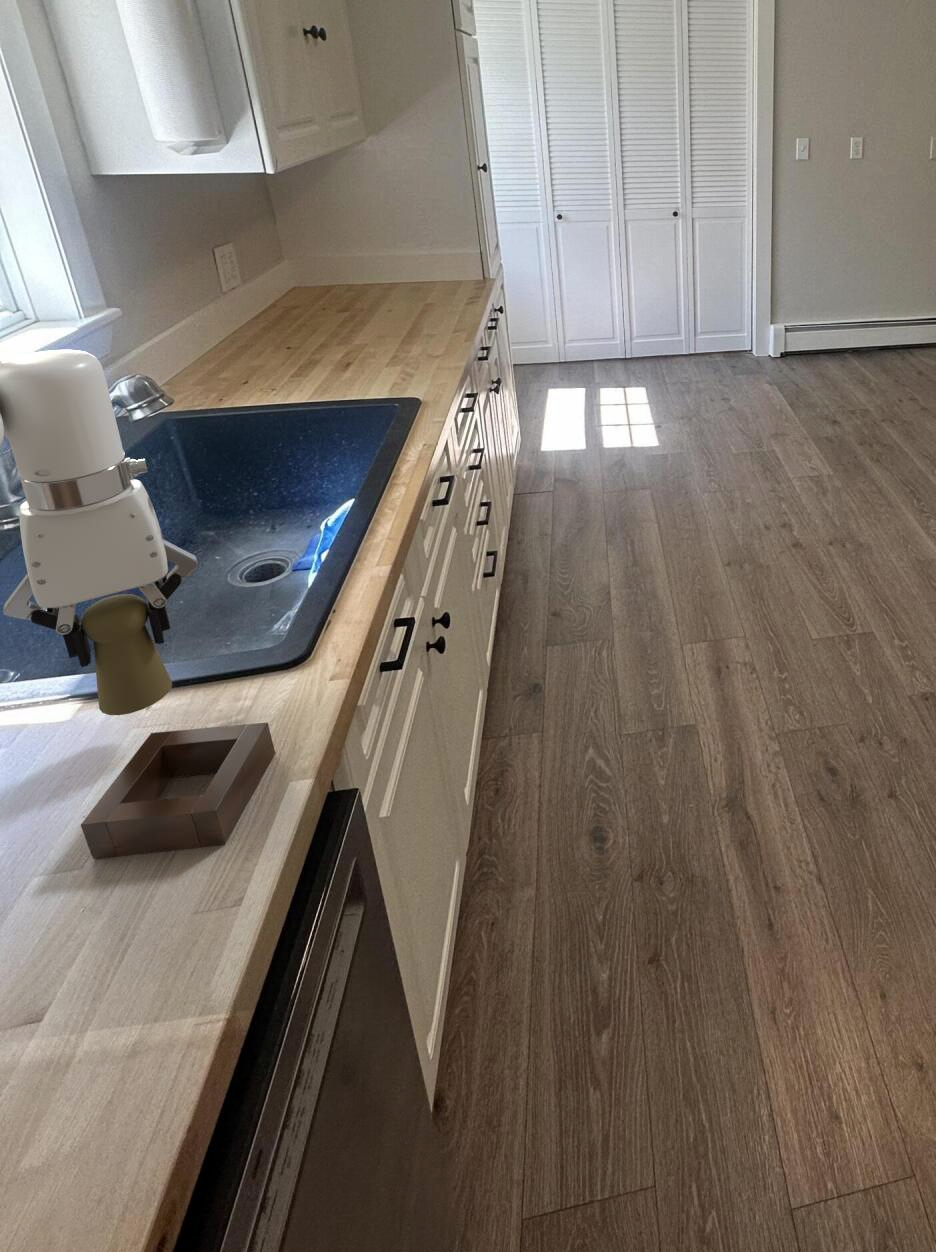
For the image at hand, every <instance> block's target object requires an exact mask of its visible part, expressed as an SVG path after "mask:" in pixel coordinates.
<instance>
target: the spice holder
mask: <svg viewBox="0 0 936 1252" xmlns="http://www.w3.org/2000/svg"><path fill="white" fill-rule="evenodd" d="M275 755H276V749H275V746H274V741H273V737H272V734H271V730H270V726H269V722H257V723H249V724H248V723H245V724H244V723H243V724H233V725H224V726H223V725H222V726H211V727H202V728H190V729H179V730H167V731H159V732H150V734H149V735H148V736H147V737H146V738H145V740H144V742H143V743H142V745H141V746H140V747H139V748H138V750H137V751H136V752H135V753H134V755H133V756H132V757H131V759H130V760H129V761H128V762H127V764H126V765H125V766H124V768H123V769H122V770H121V772H120V773H119V774H118V775H117V776H116V779H114V781H113V782H112V783H111V784H110V786H109V787H108V788H107V790H106V791H105V792H104V794H103V795H102V796H101V798H100V799H99V800H98V801H97V803H96V804H95V805H94V806H93V808H92V809H91V810H90V812H89V813H88V815H87V816H86V817H85V818H84V820H83V821H82V822H81V823H80V828H81V831H82V833H83V837H84V838H85V841H86V844H87V847H88V849H89V852H90V855H91V857H92V859H93V860H97V859H98V860H99V859H106V858H115V857H124V856H125V857H126V856H133V855H142V854H143V855H144V854H152V853H160V852H162V853H163V852H169V851H170V852H171V851H180V850H189V849H197V848H202V847H204V848H205V847H213V846H214V847H215V846H222V845H226V844H227V841H228V840H229V839H230V837H231V834H232V833H233V832H234V829H235V828H236V825H237V824H238V822H239V820H240V818H241V816H242V815H243V813H244V811H245V810H246V807H247V806H248V803H249V802H250V801H251V798H252V797H253V796H254V793H255V791H256V789H257V787H258V785H259V784H260V782H261V781H262V778H263V777H264V775H265V773H266V771H267V769H268V768H269V766H270V764H271V762H272V760H273V759H274V757H275ZM211 774H214V776H213V778H212V779H211V781H210V782H209V784H208V786H207V787H206V789H205V790H204V793H203V794H202V795H201V794H200V795H190V796H181V797H171V798H161V799H159V797H160V795H162V792H164V790H165V789H166V787H167V785H168V784H169V782H170V781H171V780H172V778H180V777H191V776H192V777H193V776H203V775H211Z"/></svg>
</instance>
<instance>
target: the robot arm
mask: <svg viewBox="0 0 936 1252" xmlns="http://www.w3.org/2000/svg"><path fill="white" fill-rule="evenodd" d="M117 423H118V422H117V419H116V415H115V411H114V407H113V403H112V398H111V394H110V390H109V386H108V382H107V379H106V375H105V371H104V368H103V365H102V363H101V362H100V360H99V359H98V358H97V357H96V356H94V355H93V354H91V353H89V352H87V351H82V350H75V349H54V350H43V351H37V352H29V353H25V354H21V355H17V356H14V357H11V358H6V359H5V358H4V359H0V447H1V446H2V443H3V441H4V437H5V438H7V440H8V442H9V445H10V449H11V452H12V456H13V459H14V463H15V465H16V469H17V473H18V475H19V479H20V482H21V486H22V489H23V492H24V496H25V499H26V501H24V502H23V503H21V504H20V505H19V516H18V517H19V528H20V529H19V531H20V538H21V546H22V550H23V556H24V562H25V568H26V571H27V573H26V574H25V576H24V578H23V579H22V580H21V581H20V582H19V584H18V585H17V587H16V588H15V589H14V590H13V592H12V593H11V594H10V595H9V597H8V598H7V600H6V601H5V602H4V606H3V609H2V613H3V615H4V616H6V617H10V618H14V619H19V620H23V621H31V622H32V623H33V624H35V625H37V626H38V625H39V626H42V627H44V628H47V629H51V630H54V631H55V632H56V633H57V634H58V635H62V637H63V641H64V644H65V648H66V651H67V654H68V657H69V658H70V659H73V658H76V657H77V658H78V661H79V665H80V667H81V668H85V667H88V666H89V665H90V664H91V663H92V648H91V645H90V641H89V638H88V637H87V636H86V635H85V634H84V632H83V630H82V627H81V621H82V617H81V618H80V616H79V615H78V614H76V610H77V605H78V604H79V603H83V602H87V601H91V600H95V599H100V598H104V597H106V596H107V597H108V596H112V595H116V594H118V593H122V592H126V591H130V590H134V589H136V588H137V589H138V591H140V592H141V594H142V595H143V596H144V598H146V600H145V603H146V604H147V612H148V621H149V625H150V628H151V633H152V636H153V641H154V645H162V644H165V636H164V632H165V631H169V630H171V624H170V620H169V619H170V618H169V614H168V611H167V608H166V605H167V603H168V600H169V599H170V597H171V596H172V595H173V594H174V593H175V592H176V591H177V589H178V588H179V587H180V586H181V584H182V582H183V581H184V580H185V579H186V578H187V577H188V576H190V574H191V573H192V572H193V571H194V570H195V569H196V568H197V567H198V566H199V560H198V557H197V556H196V555H195V554H193V553H190V552H189V551H187V550H185V549H183V548H182V547H179V546H177V545H175V544H174V543H171V542H170V541H168V540H166V539H165V538H164V535H163V532H162V530H161V526H160V524H159V520H158V517H157V513H156V511H155V508H154V505H153V502H152V500H151V498H150V496H149V494H148V491H147V490H146V488H145V486H144V485H143V482H141V480H139V479H135V477H138V476H140V475H142V474H146V473H149V471H148V470H149V469H148V466H147V465H148V464H147V461H146V459H145V458H143V459H138V460H136V459H131V458H130V457H126V454H125V451H124V448H123V442H122V438H121V436H120V435H121V434H120V431H119V427H118V424H117ZM168 562H170V563H172V564H174V565H175V566H173V568H172V569H171V570H169V565H168ZM33 597H34V598H33ZM31 598H33V599H34V600H35V602H33V601H30V600H31Z"/></svg>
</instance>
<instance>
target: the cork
mask: <svg viewBox="0 0 936 1252" xmlns="http://www.w3.org/2000/svg"><path fill="white" fill-rule="evenodd" d="M81 618H82V621H81V627H82V630H83V632H84V634H85V635H86V636H87V638H88V640H91V641H93V643H92V644H93V653H94V665H95V666H94V667H95V677H96V687H97V700H98V709H99V710H100V712H101V713H102V714H104V715H106V716H107V715H108V716H123V715H128V714H132V713H136V712H140V711H142V710H144V709H147V708H148V707H152V706H153V705H155V704H156V703H158V702H159V701H161V700H162V699H164V697H166V696H167V695H168V693H170V691H171V689H172V688H173V680H172V678H171V677H170V676H171V675H170V674H169V672H168V671H167V667H166V666H165V663H164V661H163V660H162V658H161V655H160V653H159V651H158V649H157V647H156V644H155V642H154V639H152V637H151V634H150V632H149V629H148V628H147V625H146V623H147V621H149V617H148V612H147V603H146V600H145V599H143V598H142V597H140V596H139V595H137V594H134V593H120V594H113V595H109V596H107V597H103V598H102V599H100V600H97V601H95V602H94V603H92V604H91V605H90V606H88V607H87V608H86V609H85V610H84V612H83V614H82V616H81Z"/></svg>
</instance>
